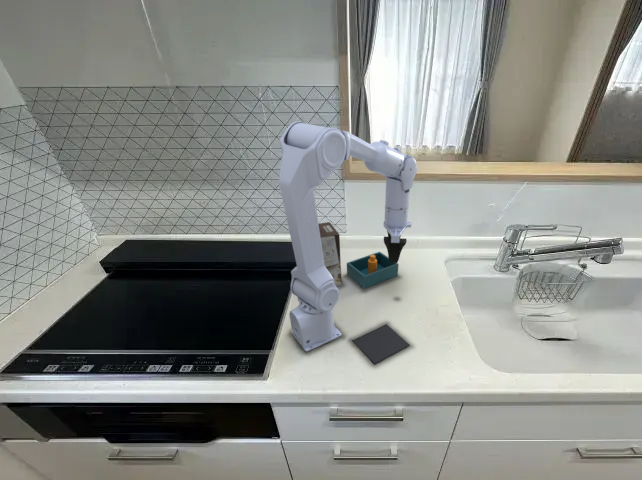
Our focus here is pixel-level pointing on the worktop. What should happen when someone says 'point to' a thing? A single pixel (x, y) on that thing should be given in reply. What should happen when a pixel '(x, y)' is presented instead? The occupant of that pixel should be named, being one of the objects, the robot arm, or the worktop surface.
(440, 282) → the worktop surface
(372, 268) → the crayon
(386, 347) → the mat
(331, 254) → the coffee box
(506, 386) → the worktop surface
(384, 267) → the teal open bin
